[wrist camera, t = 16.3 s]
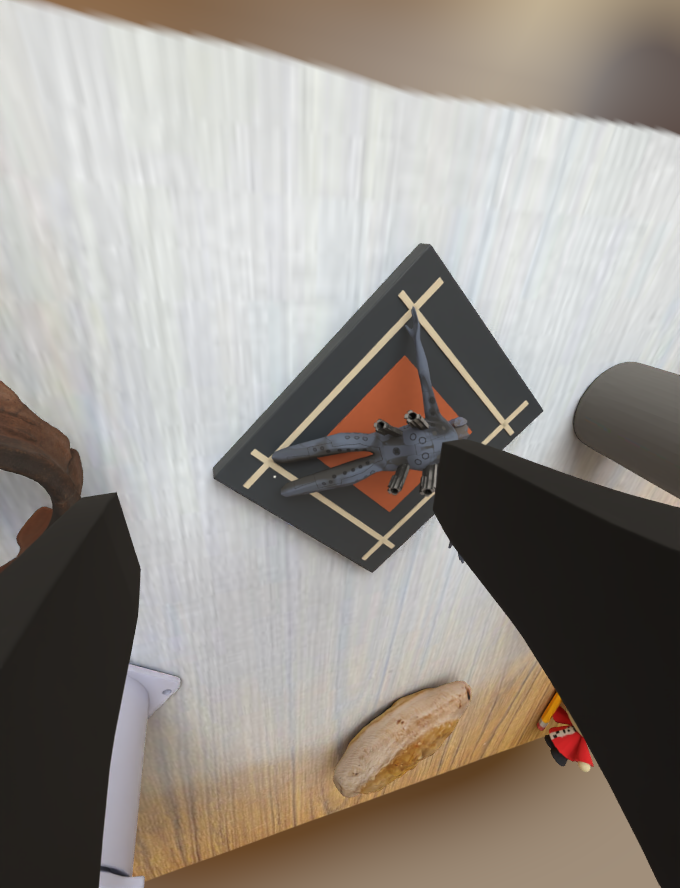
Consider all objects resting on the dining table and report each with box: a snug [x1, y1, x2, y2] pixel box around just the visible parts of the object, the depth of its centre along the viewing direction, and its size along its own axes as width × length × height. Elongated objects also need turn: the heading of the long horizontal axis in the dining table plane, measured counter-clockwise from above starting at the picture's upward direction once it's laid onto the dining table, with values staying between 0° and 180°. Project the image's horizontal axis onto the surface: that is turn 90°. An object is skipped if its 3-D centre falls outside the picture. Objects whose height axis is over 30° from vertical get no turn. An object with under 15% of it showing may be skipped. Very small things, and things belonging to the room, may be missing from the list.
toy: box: [545, 706, 593, 772], centre depth 42 cm, size 7×7×15 cm
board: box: [213, 243, 543, 572], centre depth 21 cm, size 14×12×1 cm
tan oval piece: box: [333, 681, 472, 797], centre depth 34 cm, size 5×14×4 cm, turn 121°
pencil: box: [537, 692, 562, 731], centre depth 43 cm, size 1×18×1 cm, turn 171°
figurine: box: [271, 306, 469, 563], centre depth 19 cm, size 12×10×5 cm
